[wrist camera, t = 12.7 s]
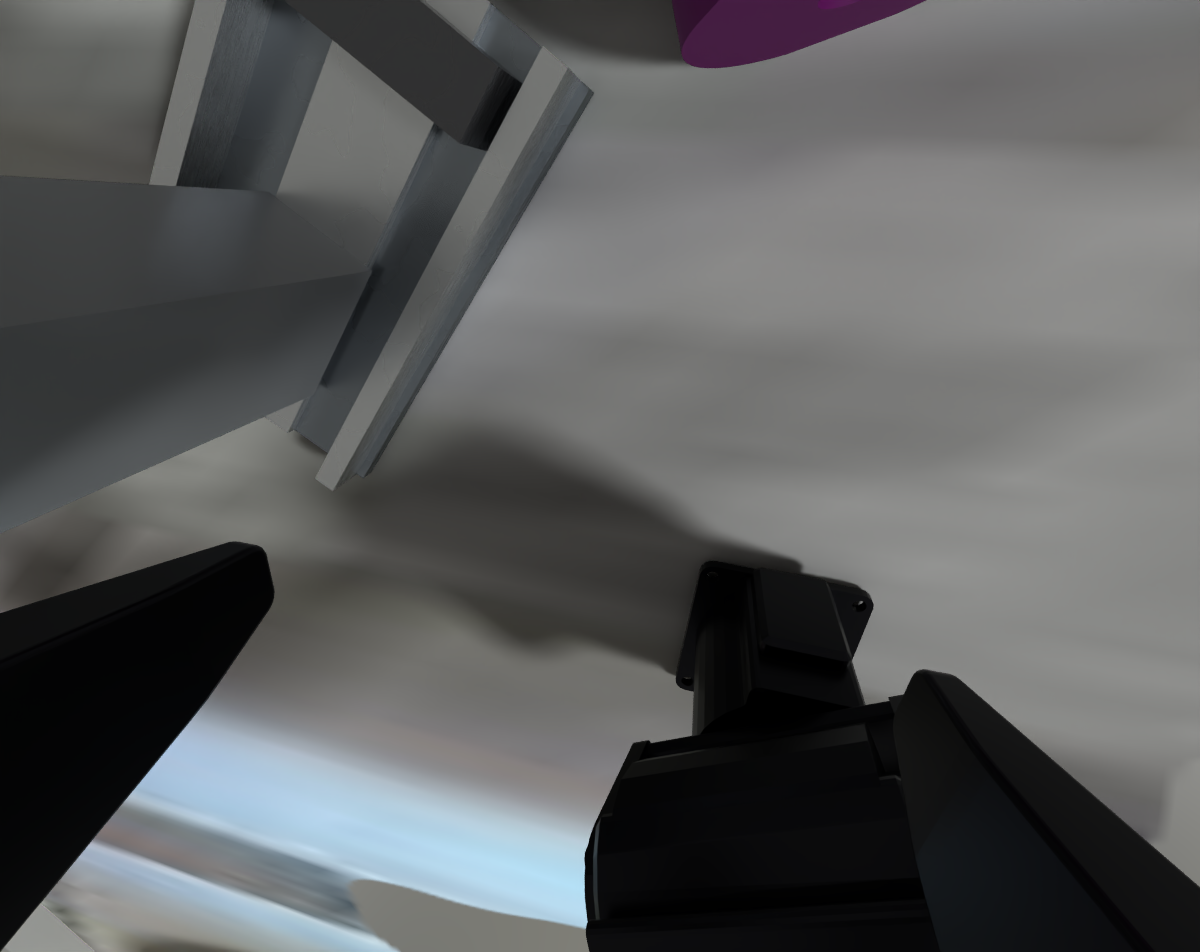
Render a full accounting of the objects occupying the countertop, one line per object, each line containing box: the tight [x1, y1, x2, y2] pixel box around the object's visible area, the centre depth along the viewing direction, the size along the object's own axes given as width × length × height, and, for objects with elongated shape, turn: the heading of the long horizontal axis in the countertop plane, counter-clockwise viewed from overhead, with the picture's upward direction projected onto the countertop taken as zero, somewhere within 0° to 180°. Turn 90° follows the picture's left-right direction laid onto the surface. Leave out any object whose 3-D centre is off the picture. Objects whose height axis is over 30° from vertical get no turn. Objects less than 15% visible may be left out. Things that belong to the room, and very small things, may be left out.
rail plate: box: [149, 0, 594, 491], centre depth 18 cm, size 16×10×3 cm, turn 144°
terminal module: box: [0, 176, 372, 533], centre depth 14 cm, size 5×6×13 cm
